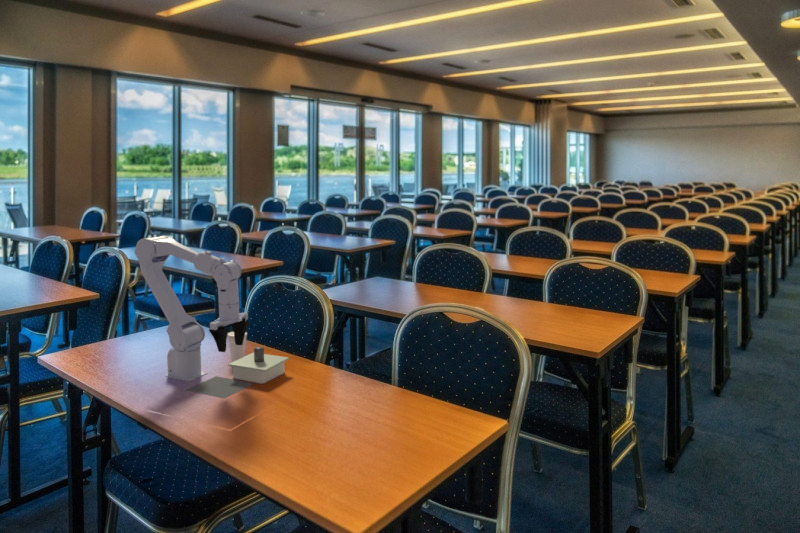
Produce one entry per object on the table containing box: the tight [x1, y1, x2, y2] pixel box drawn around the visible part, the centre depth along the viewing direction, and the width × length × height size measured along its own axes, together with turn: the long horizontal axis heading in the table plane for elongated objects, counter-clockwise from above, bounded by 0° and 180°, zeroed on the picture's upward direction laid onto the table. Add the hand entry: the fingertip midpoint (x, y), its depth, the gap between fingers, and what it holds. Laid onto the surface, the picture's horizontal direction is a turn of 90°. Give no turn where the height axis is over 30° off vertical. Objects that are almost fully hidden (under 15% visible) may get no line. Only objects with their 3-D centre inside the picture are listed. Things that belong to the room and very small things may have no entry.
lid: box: [227, 346, 290, 372], centre depth 182 cm, size 13×13×5 cm
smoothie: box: [227, 331, 248, 363], centre depth 196 cm, size 6×6×14 cm
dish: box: [232, 362, 286, 385], centre depth 183 cm, size 11×11×4 cm
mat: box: [185, 375, 254, 399], centre depth 173 cm, size 14×13×1 cm
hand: (230, 348), depth 177 cm, fingers open, 7 cm apart
